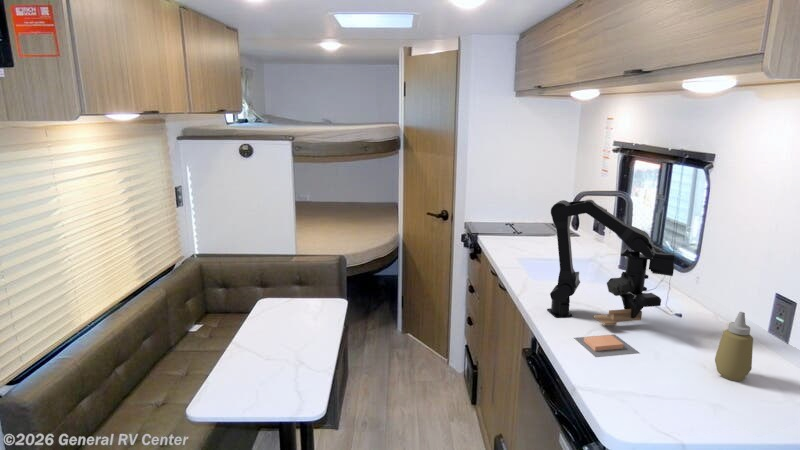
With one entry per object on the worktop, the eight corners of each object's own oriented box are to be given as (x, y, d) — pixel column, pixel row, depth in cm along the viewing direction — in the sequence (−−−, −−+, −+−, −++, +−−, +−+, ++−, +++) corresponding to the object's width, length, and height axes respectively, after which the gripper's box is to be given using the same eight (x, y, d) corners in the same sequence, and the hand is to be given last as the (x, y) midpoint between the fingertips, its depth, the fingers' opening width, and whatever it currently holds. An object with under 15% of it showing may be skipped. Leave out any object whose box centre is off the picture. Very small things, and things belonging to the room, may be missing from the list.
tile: (610, 339, 143) (583, 341, 142) (611, 334, 143) (584, 337, 141) (623, 349, 137) (594, 351, 136) (623, 344, 137) (595, 346, 135)
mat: (573, 339, 144) (573, 337, 144) (614, 336, 147) (614, 334, 146) (595, 359, 133) (595, 357, 133) (639, 354, 135) (640, 353, 135)
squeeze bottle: (705, 370, 127) (715, 309, 123) (726, 365, 129) (736, 304, 125) (735, 386, 119) (747, 321, 115) (756, 380, 122) (769, 316, 118)
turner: (593, 317, 153) (594, 309, 153) (632, 314, 156) (633, 306, 155) (604, 325, 148) (605, 316, 147) (644, 322, 150) (645, 313, 149)
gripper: (595, 262, 156) (591, 306, 160) (631, 282, 138) (625, 330, 142) (625, 261, 158) (620, 304, 161) (665, 280, 140) (658, 328, 144)
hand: (630, 316), depth 152 cm, fingers closed on turner, 3 cm apart
